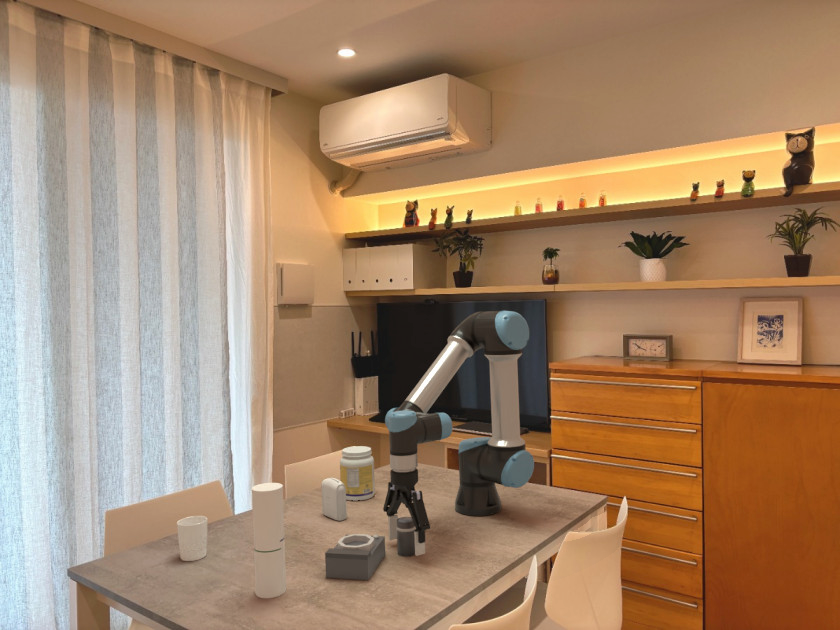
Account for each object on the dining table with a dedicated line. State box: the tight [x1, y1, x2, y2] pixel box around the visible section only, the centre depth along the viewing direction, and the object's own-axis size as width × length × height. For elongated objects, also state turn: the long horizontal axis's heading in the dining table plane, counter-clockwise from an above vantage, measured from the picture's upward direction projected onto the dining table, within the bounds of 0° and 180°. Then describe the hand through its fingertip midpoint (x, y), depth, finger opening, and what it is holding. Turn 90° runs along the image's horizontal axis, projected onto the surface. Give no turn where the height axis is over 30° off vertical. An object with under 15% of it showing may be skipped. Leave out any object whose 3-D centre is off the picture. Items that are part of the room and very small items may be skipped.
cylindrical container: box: [251, 482, 287, 599], centre depth 148 cm, size 7×7×25 cm
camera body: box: [324, 533, 386, 581], centre depth 162 cm, size 16×11×7 cm
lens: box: [396, 516, 416, 558], centre depth 169 cm, size 5×5×9 cm
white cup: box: [176, 515, 208, 562], centre depth 171 cm, size 8×8×10 cm
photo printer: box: [321, 477, 348, 522], centre depth 201 cm, size 10×4×12 cm, turn 39°
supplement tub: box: [339, 445, 376, 502], centre depth 222 cm, size 12×12×17 cm
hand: (406, 546), depth 169 cm, fingers open, 13 cm apart
